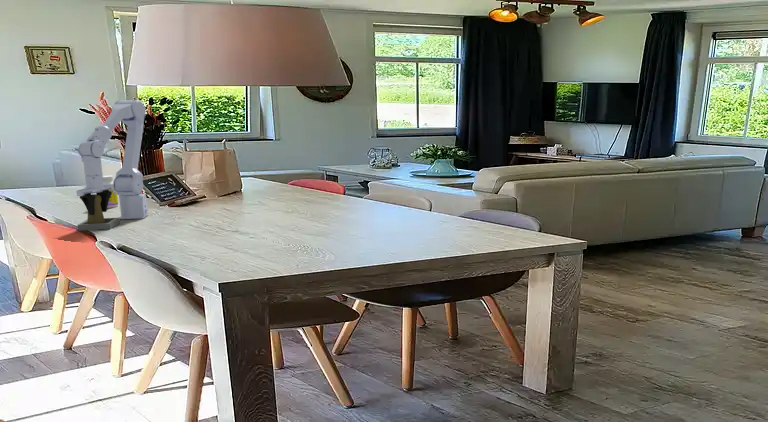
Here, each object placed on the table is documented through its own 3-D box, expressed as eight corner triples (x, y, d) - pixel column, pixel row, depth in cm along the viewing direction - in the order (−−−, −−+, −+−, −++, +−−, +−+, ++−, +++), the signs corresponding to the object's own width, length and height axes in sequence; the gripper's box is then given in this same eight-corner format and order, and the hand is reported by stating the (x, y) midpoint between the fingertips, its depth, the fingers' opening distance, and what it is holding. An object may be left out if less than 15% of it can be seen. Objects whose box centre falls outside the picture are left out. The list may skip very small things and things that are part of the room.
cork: (97, 227, 242) (94, 196, 240) (83, 226, 244) (80, 195, 242) (109, 223, 248) (105, 193, 246) (95, 223, 250) (91, 193, 248)
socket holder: (119, 222, 251) (119, 217, 251) (110, 229, 241) (109, 223, 240) (88, 224, 251) (88, 218, 250) (78, 230, 240) (77, 225, 239)
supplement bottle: (98, 208, 284) (94, 177, 282) (106, 205, 290) (103, 175, 288) (113, 208, 283) (109, 177, 280) (121, 205, 289) (118, 175, 287)
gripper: (101, 172, 250) (105, 208, 253) (68, 177, 237) (72, 216, 240) (116, 172, 247) (119, 209, 250) (83, 178, 234) (87, 217, 237)
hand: (97, 213), depth 245 cm, fingers closed on cork, 5 cm apart
